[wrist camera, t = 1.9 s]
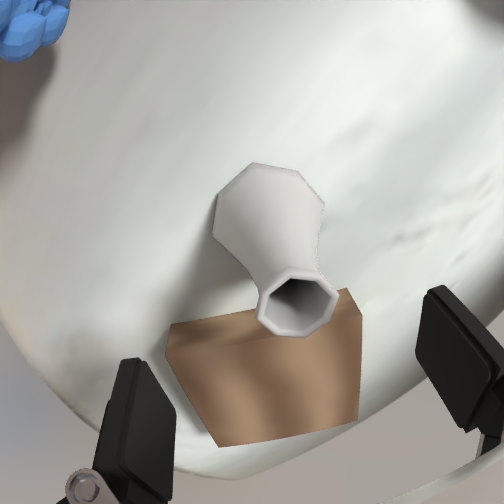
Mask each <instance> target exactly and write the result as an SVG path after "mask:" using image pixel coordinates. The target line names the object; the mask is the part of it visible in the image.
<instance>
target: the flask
mask: <svg viewBox="0 0 504 504" xmlns="http://www.w3.org/2000/svg"><path fill="white" fill-rule="evenodd" d="M324 204H325V203H324V202H323V201H322V199H321V198H320V197H319V196H318V195H317V193H316V192H315V191H314V190H313V189H312V187H311V186H310V185H309V184H308V183H307V182H306V180H305V179H304V178H303V177H302V176H301V174H300V173H299V172H298V171H295V170H290V169H285V168H280V167H275V166H269V165H264V164H259V163H251V164H250V165H249V166H248V167H247V168H246V169H245V170H244V171H242V172H241V173H240V174H239V175H238V176H237V177H236V178H235V179H234V180H232V181H231V182H230V183H229V184H228V185H227V186H226V187H225V188H224V189H223V190H221V191H220V192H219V193H218V199H217V205H216V211H215V217H214V224H213V230H212V236H213V237H214V238H215V239H216V240H217V241H218V242H220V243H221V244H222V245H223V246H224V247H225V248H226V249H227V250H228V251H229V252H230V253H231V254H232V255H233V256H234V257H235V258H236V259H237V260H238V261H239V262H240V263H241V264H242V265H243V266H244V267H245V268H246V269H247V270H248V271H249V273H250V275H251V277H252V279H253V281H254V283H255V285H256V286H257V288H258V292H259V299H258V303H257V307H256V311H255V320H257V321H258V322H259V323H260V324H262V325H263V326H264V327H265V328H266V329H268V330H269V331H270V332H271V333H273V334H274V335H275V336H280V337H292V338H306V337H308V336H309V335H311V334H312V333H314V332H315V331H316V330H318V329H319V328H321V327H322V326H323V325H325V324H326V323H327V322H329V321H330V318H331V316H332V313H333V311H334V308H335V306H336V303H337V301H338V298H339V296H340V295H339V293H338V291H337V290H336V289H335V288H334V287H333V286H332V285H331V284H330V283H329V282H328V280H327V279H326V278H325V277H324V276H323V275H322V274H321V273H320V271H319V264H318V257H317V246H318V239H319V231H320V225H321V220H322V215H323V211H324Z"/></svg>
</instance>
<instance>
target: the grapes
mask: <svg viewBox="0 0 504 504" xmlns="http://www.w3.org/2000/svg"><path fill="white" fill-rule="evenodd" d="M69 3H70V0H0V58H2V59H4V60H6V61H8V62H21V61H23V60H25V59H27V58H29V57H31V56H32V55H33V53H34V52H35V51H36V50H37V49H38V47H39V46H47V45H50V44H52V43H54V42H56V40H57V39H58V38H59V37H60V36H61V35H62V33H63V30H64V28H65V26H66V23H67V19H68V15H69V11H70V10H69V9H67V8H66V7H67V6H68V5H69Z"/></svg>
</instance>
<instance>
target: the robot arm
mask: <svg viewBox="0 0 504 504" xmlns="http://www.w3.org/2000/svg"><path fill="white" fill-rule="evenodd" d="M415 354H416V358H417V360H418V362H419V363H420V365H421V366H422V368H423V369H424V371H425V373H426V374H427V376H428V377H429V379H430V381H431V382H432V384H433V386H434V387H435V389H436V390H437V392H438V394H439V395H440V397H441V399H442V400H443V402H444V404H445V405H446V407H447V409H448V410H449V412H450V414H451V415H452V417H453V419H454V421H455V422H456V424H457V426H458V427H459V428H463V429H464V431H465V433H468V432H470V431H471V430H473V429H475V428H477V427H478V428H479V430H480V432H481V436H480V441H479V445H478V450H477V454H476V458H475V460H473V461H471V462H470V463H468V464H466V465H464V466H462V467H460V468H458V469H456V470H455V471H453V472H451V473H449V474H447V475H445V476H443V477H441V478H439V479H437V480H435V481H432V482H430V483H428V484H426V485H424V486H421V487H419V488H417V489H415V490H412V491H410V492H407V493H405V494H403V495H400V496H397V497H395V498H392V499H390V500H387V501H384V502H381V503H378V504H504V348H503V347H502V346H501V345H500V344H499V343H498V342H497V340H496V339H495V338H494V337H493V336H492V335H491V334H490V332H489V331H488V330H487V329H486V328H485V327H484V326H483V325H482V323H481V322H480V321H479V320H478V319H477V318H476V317H475V316H474V315H473V314H472V313H471V312H470V311H469V309H468V308H467V307H466V306H465V305H464V304H463V303H462V302H461V301H460V300H459V299H458V298H457V297H456V296H455V295H454V294H453V293H452V292H451V291H450V290H449V289H448V288H447V287H446V286H445V285H440V286H437V287H434V288H431V289H429V290H428V291H427V295H425V296H424V298H423V306H422V313H421V319H420V326H419V332H418V338H417V343H416V349H415ZM175 432H176V411H175V408H174V406H173V405H172V403H171V402H170V400H169V399H168V397H167V395H166V394H165V392H164V391H163V389H162V387H161V386H160V384H159V382H158V381H157V379H156V377H155V376H154V374H153V372H152V371H151V369H150V367H149V366H148V364H147V362H146V361H142V360H141V359H140V358H130V359H123V360H122V361H121V363H120V366H119V369H118V373H117V376H116V380H115V384H114V387H113V391H112V395H111V399H110V400H109V401H108V403H107V406H106V410H105V414H104V418H103V422H102V426H101V430H100V434H99V439H98V443H97V448H96V452H95V457H94V461H93V466H92V469H88V468H84V469H80V470H78V471H75V472H74V473H73V474H72V475H71V476H70V477H69V479H68V480H67V483H66V486H65V493H66V497H65V498H63V499H62V500H60V501H59V502H58V503H56V504H168V501H170V500H171V499H172V492H173V468H174V448H175Z"/></svg>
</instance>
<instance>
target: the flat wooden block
mask: <svg viewBox="0 0 504 504" xmlns="http://www.w3.org/2000/svg"><path fill="white" fill-rule="evenodd" d="M337 291H338V293H339V295H340V296H339V298H338V301H337V303H336V306H335V308H334V311H333V313H332V316H331V318H330V321H329V322H327V323H326V324H325V325H323V326H322V327H321V328H319V329H318V330H316V331H315V332H314V333H312V334H311V335H309V336H308V337H306V338H292V337H280V336H275V335H274V334H273V333H271V332H270V331H269V330H268V329H266V328H265V327H264V326H263V325H262V324H260V323H259V322H258V321H257V320H255V311H256V309H251V310H246V311H241V312H236V313H231V314H226V315H221V316H215V317H210V318H205V319H199V320H194V321H188V322H182V323H177V324H171V328H170V333H169V338H168V343H167V348H166V353H165V357H166V359H167V360H168V362H169V364H170V366H171V368H172V370H173V372H174V374H175V375H176V377H177V379H178V381H179V383H180V384H181V386H182V388H183V390H184V392H185V393H186V395H187V397H188V398H189V400H190V402H191V404H192V405H193V407H194V409H195V410H196V412H197V414H198V415H199V417H200V419H201V420H202V422H203V424H204V425H205V427H206V428H207V430H208V432H209V433H210V435H211V436H212V438H213V440H214V441H215V443H216V444H217V446H218V447H219V448H220V447H229V446H237V445H244V444H251V443H258V442H264V441H270V440H276V439H281V438H287V437H292V436H296V435H301V434H306V433H310V432H315V431H319V430H323V429H327V428H331V427H335V426H339V425H342V424H346V423H350V422H353V421H357V419H358V407H359V394H360V378H361V356H362V314H361V312H360V310H359V309H358V307H357V305H356V303H355V301H354V300H353V298H352V296H351V294H350V293H349V291H348V289H347V288H344V289H340V290H337Z"/></svg>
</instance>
